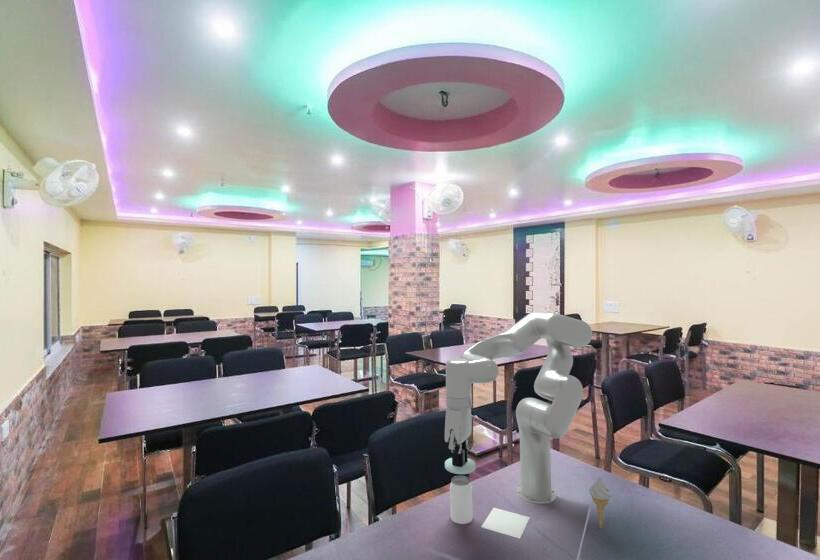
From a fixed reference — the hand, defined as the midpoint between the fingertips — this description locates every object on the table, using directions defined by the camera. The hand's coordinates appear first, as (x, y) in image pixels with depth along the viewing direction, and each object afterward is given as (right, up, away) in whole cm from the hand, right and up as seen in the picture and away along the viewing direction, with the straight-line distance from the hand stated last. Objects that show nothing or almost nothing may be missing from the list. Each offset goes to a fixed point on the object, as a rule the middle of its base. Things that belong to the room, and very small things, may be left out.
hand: (459, 463), depth 119 cm
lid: (0, -1, 0) cm, 1 cm away
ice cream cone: (+39, -17, -5) cm, 43 cm away
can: (+1, -17, 0) cm, 17 cm away
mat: (+13, -17, -2) cm, 22 cm away
